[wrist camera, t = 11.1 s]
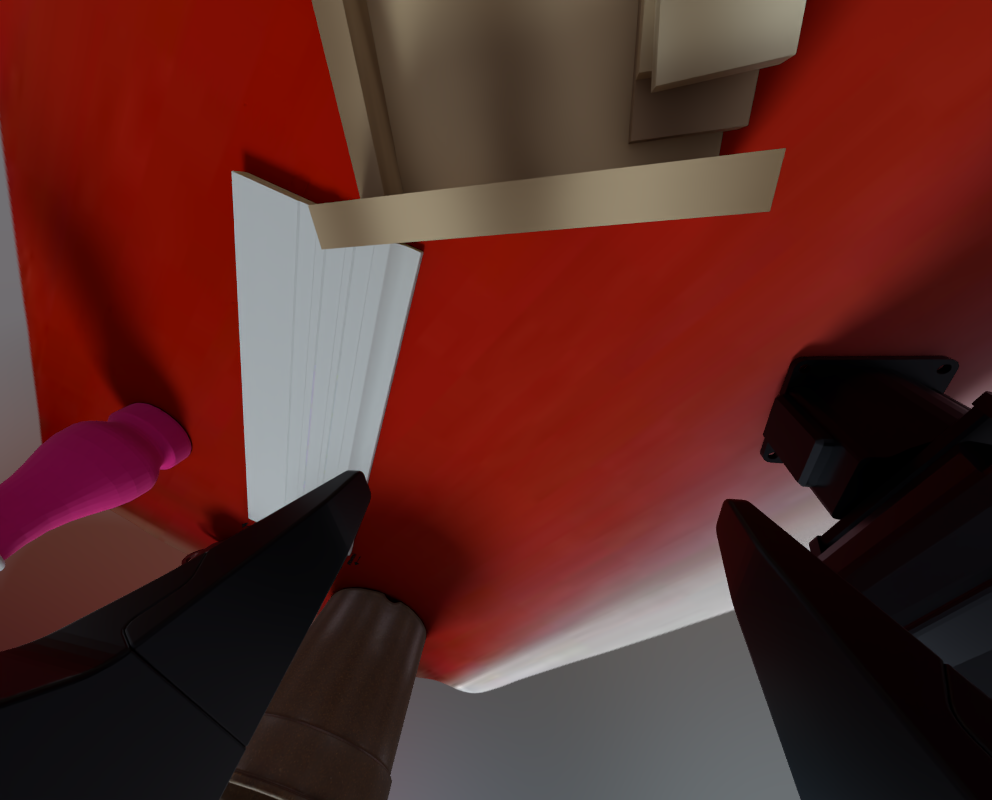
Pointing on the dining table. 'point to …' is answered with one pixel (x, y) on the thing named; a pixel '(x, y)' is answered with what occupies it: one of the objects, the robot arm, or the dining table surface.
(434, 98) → the rack
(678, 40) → the offcut stack
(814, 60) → the dining table surface
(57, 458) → the pepper mill
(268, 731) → the plant pot
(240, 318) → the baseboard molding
